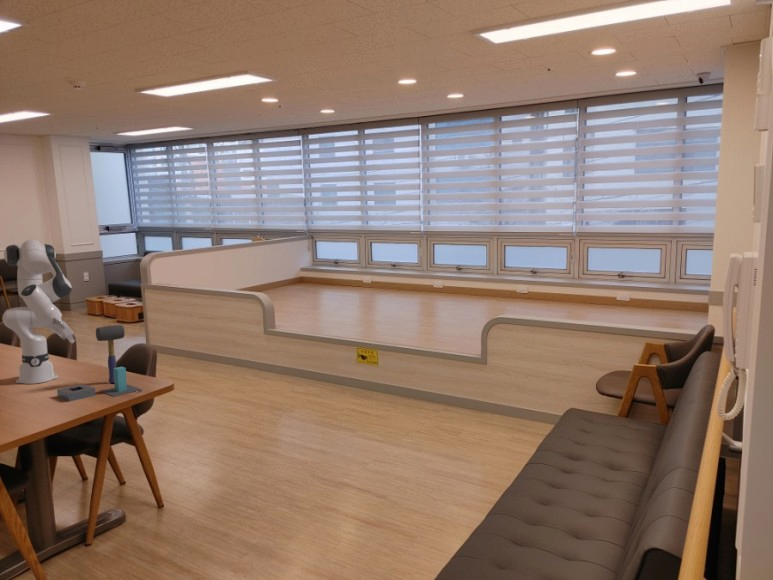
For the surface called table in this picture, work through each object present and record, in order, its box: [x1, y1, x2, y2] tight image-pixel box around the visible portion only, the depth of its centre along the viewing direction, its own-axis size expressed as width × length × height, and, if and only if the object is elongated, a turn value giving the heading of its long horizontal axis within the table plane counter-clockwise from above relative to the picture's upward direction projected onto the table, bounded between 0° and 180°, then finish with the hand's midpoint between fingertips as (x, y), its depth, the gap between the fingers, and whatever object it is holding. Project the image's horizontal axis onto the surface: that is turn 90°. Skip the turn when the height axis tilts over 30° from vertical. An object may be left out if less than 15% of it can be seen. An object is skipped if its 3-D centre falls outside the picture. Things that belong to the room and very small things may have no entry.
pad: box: [99, 384, 143, 398], centre depth 280 cm, size 14×14×1 cm
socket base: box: [56, 383, 96, 402], centre depth 271 cm, size 12×12×4 cm
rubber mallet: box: [95, 324, 125, 383], centre depth 293 cm, size 12×8×30 cm, turn 131°
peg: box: [113, 366, 128, 392], centre depth 279 cm, size 4×4×11 cm
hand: (69, 340), depth 266 cm, fingers open, 8 cm apart
